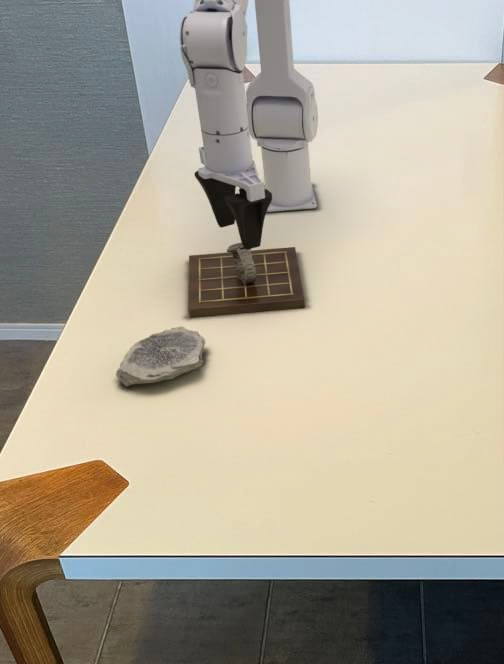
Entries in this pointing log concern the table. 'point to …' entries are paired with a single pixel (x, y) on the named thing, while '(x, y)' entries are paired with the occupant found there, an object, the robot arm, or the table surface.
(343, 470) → the table surface
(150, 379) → the fossil
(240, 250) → the wristwatch
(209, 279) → the board
